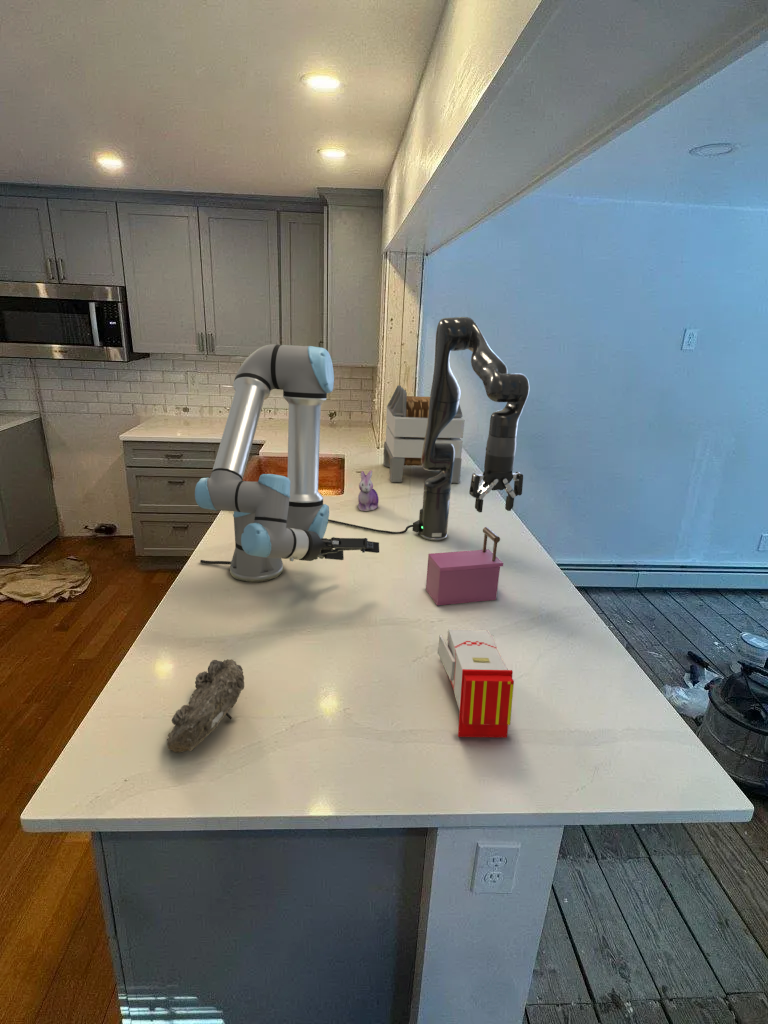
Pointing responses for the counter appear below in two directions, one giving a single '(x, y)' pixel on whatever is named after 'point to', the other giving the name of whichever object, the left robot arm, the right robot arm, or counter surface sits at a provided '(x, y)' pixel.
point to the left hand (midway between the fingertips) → (359, 551)
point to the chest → (461, 585)
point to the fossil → (206, 705)
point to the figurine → (367, 493)
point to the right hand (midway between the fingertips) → (493, 510)
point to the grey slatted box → (415, 434)
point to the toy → (478, 682)
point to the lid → (469, 557)
